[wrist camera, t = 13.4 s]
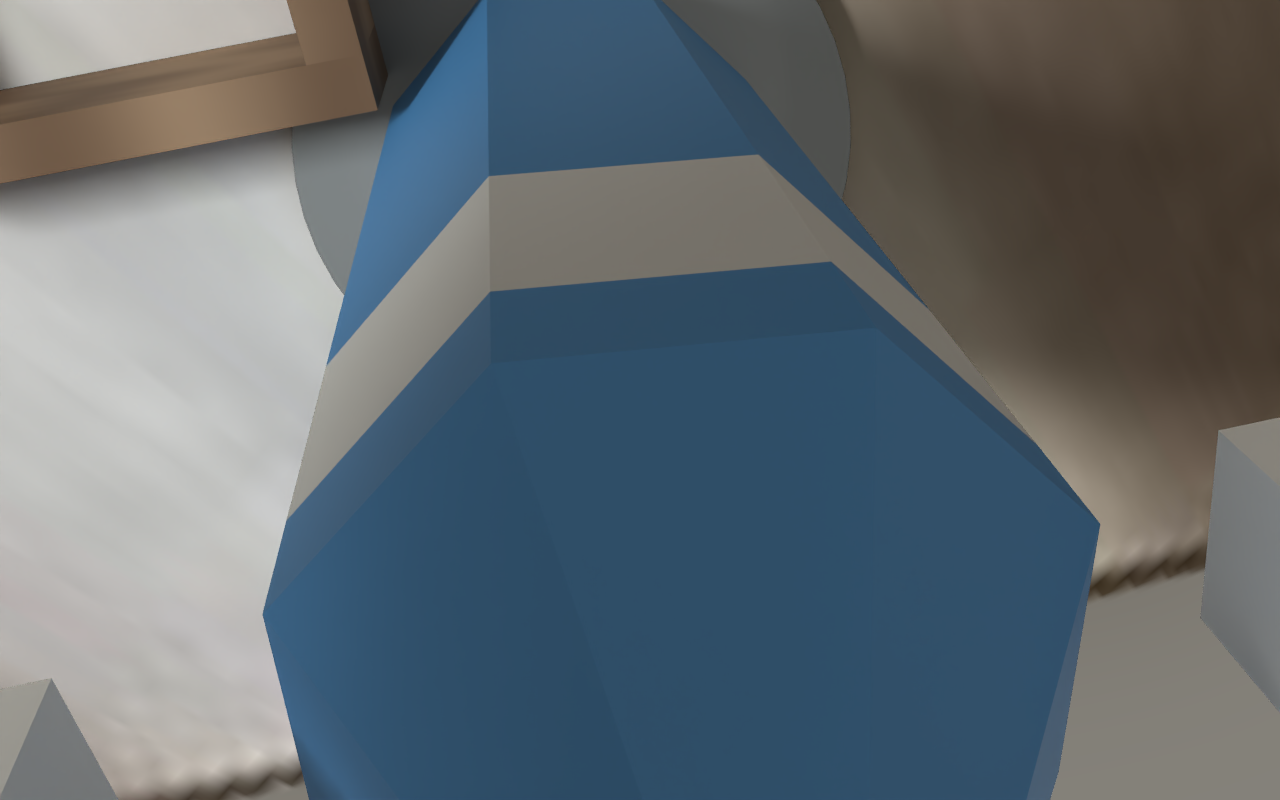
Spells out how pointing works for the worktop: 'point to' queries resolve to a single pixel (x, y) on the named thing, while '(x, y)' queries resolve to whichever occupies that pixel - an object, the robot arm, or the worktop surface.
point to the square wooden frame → (198, 95)
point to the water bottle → (655, 464)
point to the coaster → (708, 3)
